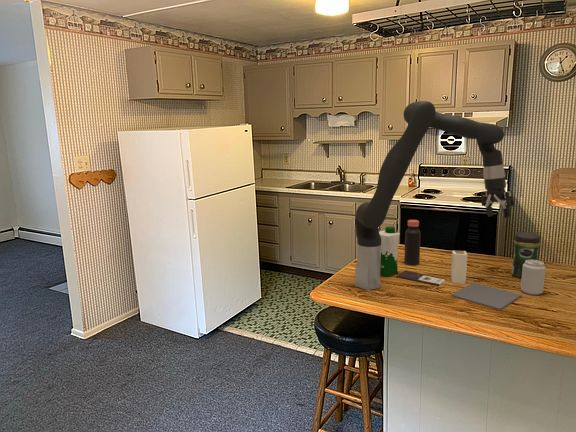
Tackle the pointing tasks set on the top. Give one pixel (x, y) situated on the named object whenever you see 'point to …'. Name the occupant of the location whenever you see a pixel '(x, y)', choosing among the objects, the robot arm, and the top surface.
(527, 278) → the can
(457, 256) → the cream block
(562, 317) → the top surface
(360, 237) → the robot arm
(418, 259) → the bottle
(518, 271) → the coffee jar
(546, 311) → the top surface
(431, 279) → the chocolate bar
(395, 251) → the milk carton
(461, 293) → the rubber mat
